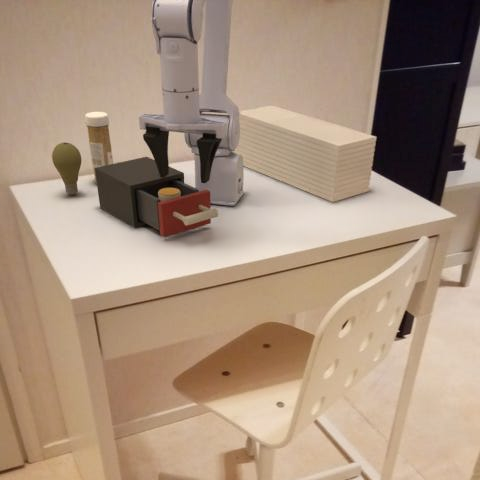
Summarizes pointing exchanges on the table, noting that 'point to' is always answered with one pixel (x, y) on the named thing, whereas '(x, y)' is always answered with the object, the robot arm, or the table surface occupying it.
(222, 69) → the robot arm
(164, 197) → the beige cylinder
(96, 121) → the spice jar
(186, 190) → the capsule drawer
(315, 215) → the table surface
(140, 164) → the black drawer box
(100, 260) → the table surface
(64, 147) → the light bulb
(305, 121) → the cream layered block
